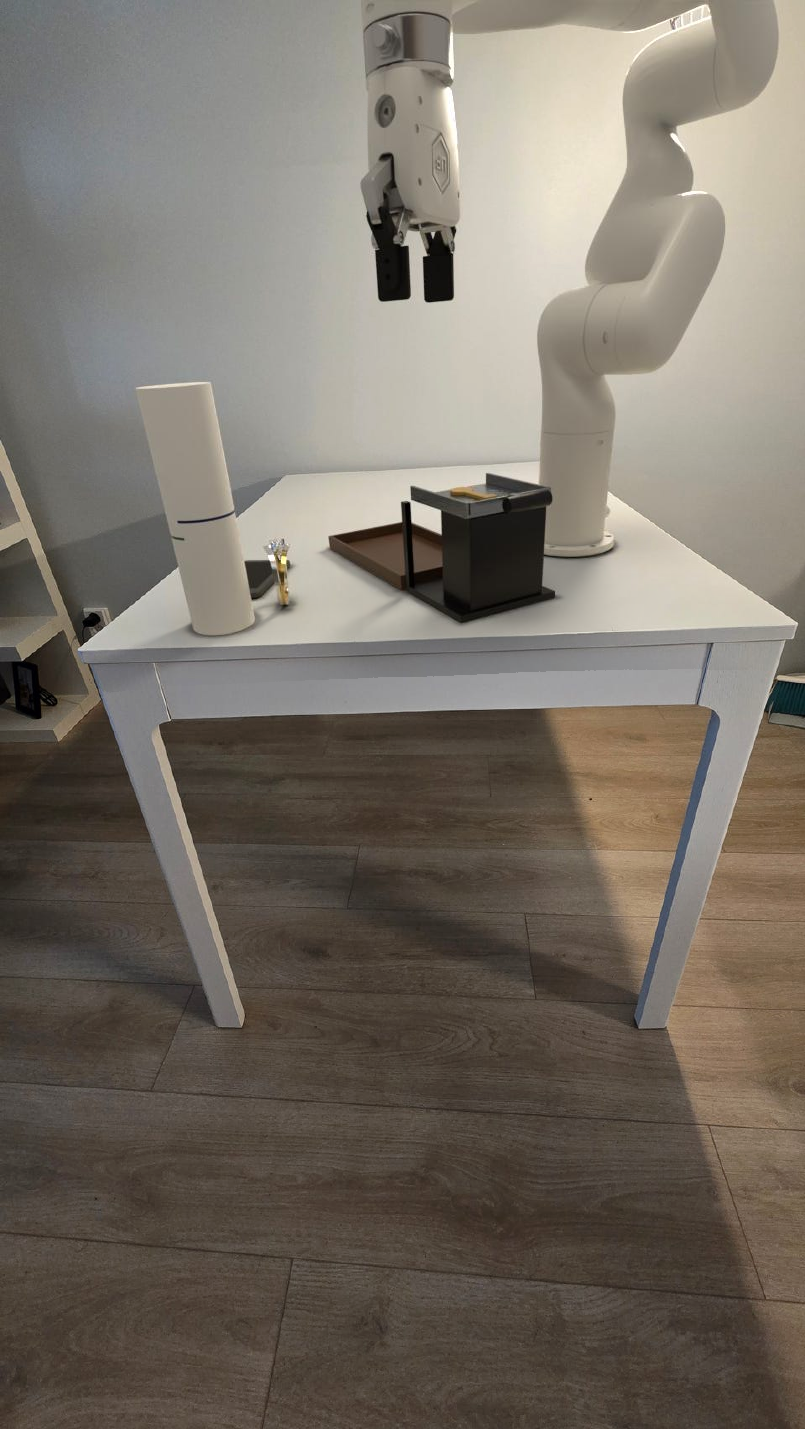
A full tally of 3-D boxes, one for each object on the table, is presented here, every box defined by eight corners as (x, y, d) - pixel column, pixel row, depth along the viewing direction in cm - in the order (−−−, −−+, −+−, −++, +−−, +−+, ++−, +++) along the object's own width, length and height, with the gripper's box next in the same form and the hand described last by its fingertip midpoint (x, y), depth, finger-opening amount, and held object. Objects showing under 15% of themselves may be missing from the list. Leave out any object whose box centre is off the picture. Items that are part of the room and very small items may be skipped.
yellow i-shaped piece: (445, 492, 76) (445, 489, 76) (465, 489, 77) (465, 485, 77) (478, 502, 71) (478, 499, 71) (499, 498, 72) (499, 495, 72)
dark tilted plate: (410, 500, 76) (409, 480, 75) (488, 486, 80) (488, 467, 79) (487, 526, 63) (487, 503, 62) (573, 508, 68) (575, 486, 67)
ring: (295, 613, 77) (285, 547, 73) (268, 615, 77) (257, 549, 73) (301, 593, 83) (291, 531, 79) (276, 595, 83) (265, 533, 79)
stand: (405, 590, 81) (400, 501, 76) (492, 570, 86) (493, 485, 81) (461, 623, 71) (459, 523, 66) (555, 597, 76) (561, 502, 71)
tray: (329, 548, 100) (328, 536, 99) (408, 532, 105) (407, 520, 104) (401, 590, 82) (400, 576, 81) (492, 568, 87) (492, 554, 86)
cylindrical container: (239, 636, 72) (189, 386, 59) (181, 634, 73) (120, 390, 61) (264, 612, 78) (223, 380, 65) (210, 611, 79) (159, 384, 67)
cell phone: (205, 598, 83) (204, 592, 83) (244, 564, 95) (243, 559, 94) (259, 598, 82) (258, 592, 81) (292, 564, 94) (291, 559, 93)
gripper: (400, 16, 47) (412, 296, 55) (487, 80, 60) (485, 299, 68) (315, 43, 50) (339, 303, 59) (415, 98, 63) (422, 304, 71)
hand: (418, 301), depth 63 cm, fingers open, 9 cm apart
